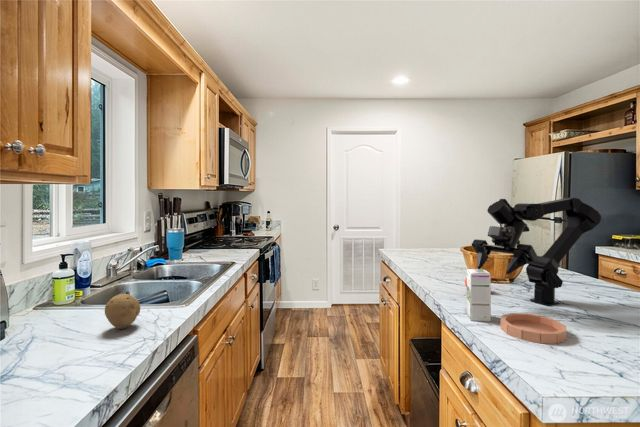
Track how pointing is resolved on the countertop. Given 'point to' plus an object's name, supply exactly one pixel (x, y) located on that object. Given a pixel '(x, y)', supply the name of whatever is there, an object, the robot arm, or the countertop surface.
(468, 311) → the syrup box
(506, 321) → the terracotta dish
